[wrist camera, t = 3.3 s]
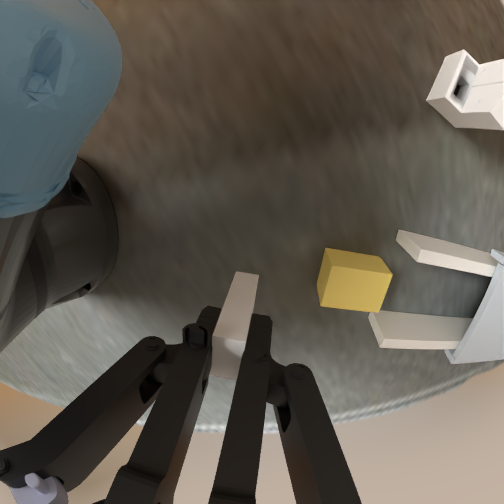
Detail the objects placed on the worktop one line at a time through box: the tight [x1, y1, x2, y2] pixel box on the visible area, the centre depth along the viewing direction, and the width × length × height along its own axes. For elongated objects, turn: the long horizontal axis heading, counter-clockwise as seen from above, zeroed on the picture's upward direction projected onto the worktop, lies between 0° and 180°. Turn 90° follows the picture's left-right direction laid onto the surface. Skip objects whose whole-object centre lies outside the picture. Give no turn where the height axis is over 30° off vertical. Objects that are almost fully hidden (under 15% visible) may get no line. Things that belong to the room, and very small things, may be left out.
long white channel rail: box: [368, 230, 500, 349], centre depth 20 cm, size 20×9×4 cm, turn 82°
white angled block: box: [426, 49, 504, 130], centre depth 11 cm, size 4×10×9 cm
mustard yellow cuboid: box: [316, 248, 393, 313], centre depth 21 cm, size 5×4×4 cm
